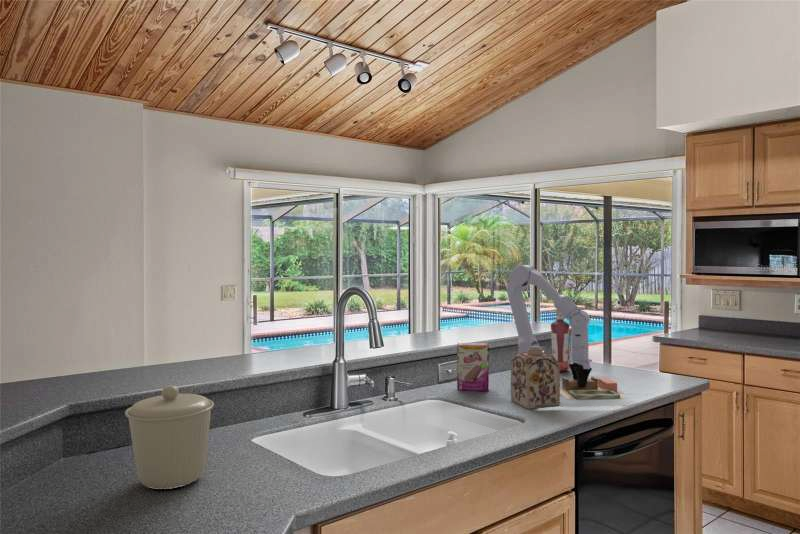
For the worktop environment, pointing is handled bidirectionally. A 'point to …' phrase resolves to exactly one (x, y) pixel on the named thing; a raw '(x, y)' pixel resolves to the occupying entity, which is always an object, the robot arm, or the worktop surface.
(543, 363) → the decorative jar
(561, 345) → the liquor
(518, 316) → the robot arm
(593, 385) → the brown u-shaped block
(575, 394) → the jig
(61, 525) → the worktop surface
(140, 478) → the canister
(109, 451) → the worktop surface
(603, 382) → the pink rectangular block
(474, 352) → the candy bar box
